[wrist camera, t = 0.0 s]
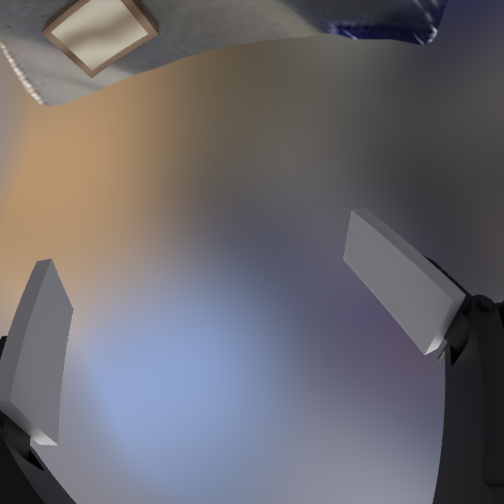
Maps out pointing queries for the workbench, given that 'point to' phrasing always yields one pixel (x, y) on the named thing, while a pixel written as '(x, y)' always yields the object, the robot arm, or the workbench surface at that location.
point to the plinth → (100, 31)
